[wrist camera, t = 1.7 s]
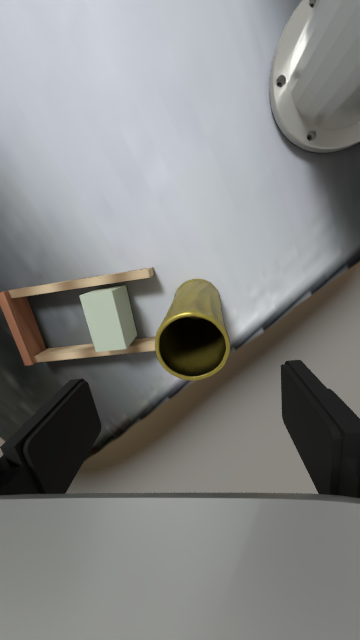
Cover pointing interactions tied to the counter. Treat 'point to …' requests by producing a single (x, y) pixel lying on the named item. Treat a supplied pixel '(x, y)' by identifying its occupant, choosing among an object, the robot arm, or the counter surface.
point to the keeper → (109, 318)
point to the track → (28, 331)
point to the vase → (193, 333)
